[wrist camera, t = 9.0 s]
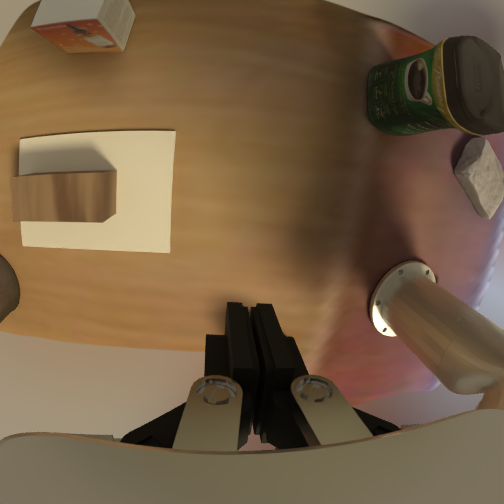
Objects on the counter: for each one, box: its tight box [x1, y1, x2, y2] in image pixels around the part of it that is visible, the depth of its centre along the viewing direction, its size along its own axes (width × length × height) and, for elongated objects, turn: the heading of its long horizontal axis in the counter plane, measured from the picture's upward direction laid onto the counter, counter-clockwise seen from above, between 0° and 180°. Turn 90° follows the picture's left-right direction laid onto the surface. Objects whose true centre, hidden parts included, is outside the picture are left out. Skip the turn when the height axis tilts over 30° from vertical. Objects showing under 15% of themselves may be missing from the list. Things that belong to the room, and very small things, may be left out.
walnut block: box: [11, 170, 117, 223], centre depth 28 cm, size 5×5×12 cm
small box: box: [31, 0, 136, 54], centre depth 20 cm, size 8×6×10 cm
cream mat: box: [19, 131, 176, 253], centre depth 31 cm, size 21×14×1 cm, turn 84°
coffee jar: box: [367, 36, 504, 136], centre depth 24 cm, size 10×8×19 cm
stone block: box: [454, 137, 504, 219], centre depth 37 cm, size 12×5×10 cm
